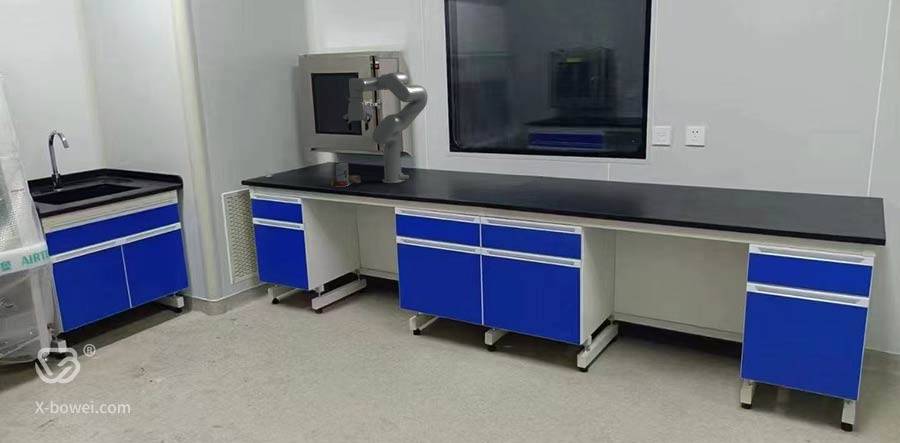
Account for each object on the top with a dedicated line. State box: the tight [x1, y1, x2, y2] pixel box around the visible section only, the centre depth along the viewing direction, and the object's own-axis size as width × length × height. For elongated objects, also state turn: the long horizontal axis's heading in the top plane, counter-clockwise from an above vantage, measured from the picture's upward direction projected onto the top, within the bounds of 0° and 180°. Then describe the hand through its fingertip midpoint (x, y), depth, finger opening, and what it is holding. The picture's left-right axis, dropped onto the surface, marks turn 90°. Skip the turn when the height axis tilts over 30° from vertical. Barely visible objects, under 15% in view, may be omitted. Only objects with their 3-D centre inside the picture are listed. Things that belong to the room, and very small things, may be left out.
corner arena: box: [330, 175, 361, 187], centre depth 375 cm, size 13×12×4 cm
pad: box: [334, 183, 353, 188], centre depth 374 cm, size 6×10×1 cm, turn 169°
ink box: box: [335, 162, 350, 186], centre depth 373 cm, size 9×5×12 cm, turn 171°
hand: (358, 130), depth 386 cm, fingers open, 9 cm apart
